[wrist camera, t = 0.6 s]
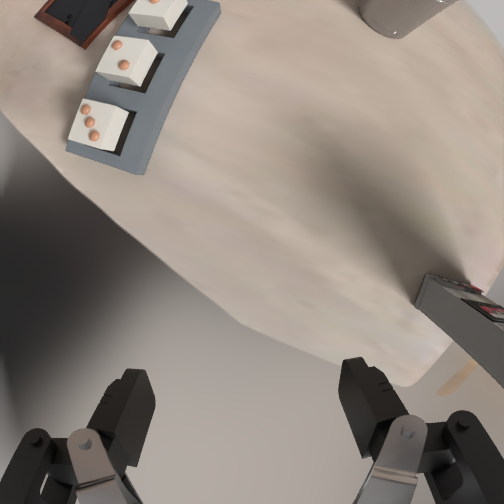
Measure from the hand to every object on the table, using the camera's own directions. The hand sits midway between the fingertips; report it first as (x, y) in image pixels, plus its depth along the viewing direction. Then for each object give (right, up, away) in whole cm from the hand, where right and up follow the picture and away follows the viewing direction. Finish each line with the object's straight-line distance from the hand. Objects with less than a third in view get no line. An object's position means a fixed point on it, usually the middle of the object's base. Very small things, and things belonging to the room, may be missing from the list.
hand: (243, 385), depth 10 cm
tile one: (-11, +36, +15) cm, 40 cm away
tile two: (-14, +28, +17) cm, 36 cm away
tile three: (-18, +21, +18) cm, 33 cm away
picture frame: (-24, +52, +14) cm, 59 cm away
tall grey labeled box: (+35, -2, +31) cm, 46 cm away
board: (-14, +29, +20) cm, 38 cm away
